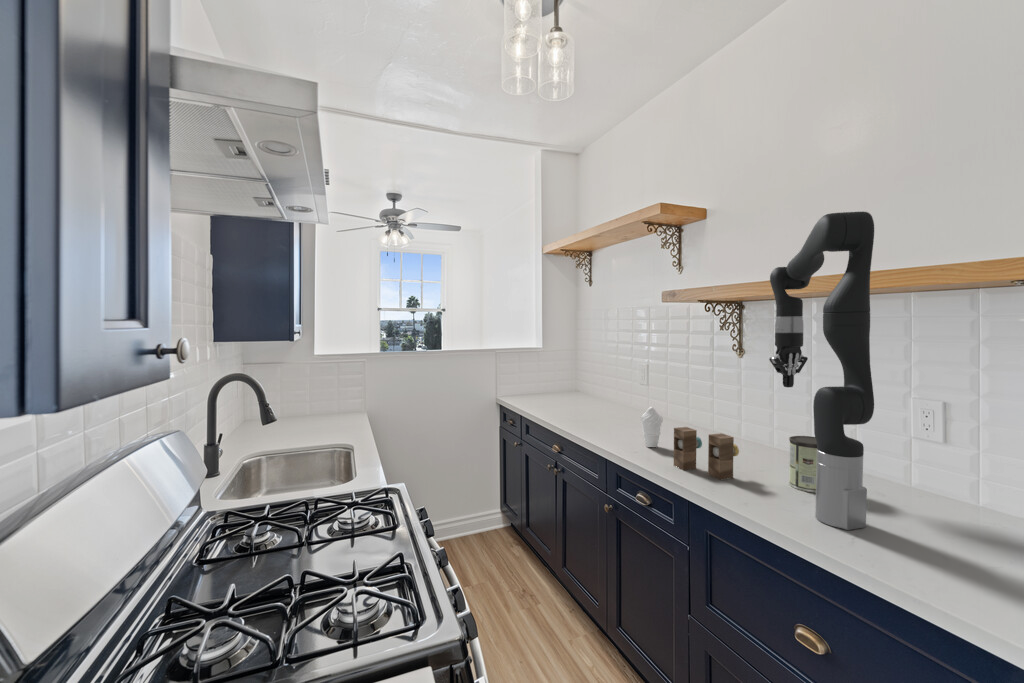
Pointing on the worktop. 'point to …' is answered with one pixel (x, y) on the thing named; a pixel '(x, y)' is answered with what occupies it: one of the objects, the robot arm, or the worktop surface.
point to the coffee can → (803, 463)
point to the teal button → (698, 443)
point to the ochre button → (735, 451)
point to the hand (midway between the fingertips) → (788, 387)
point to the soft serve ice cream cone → (651, 427)
